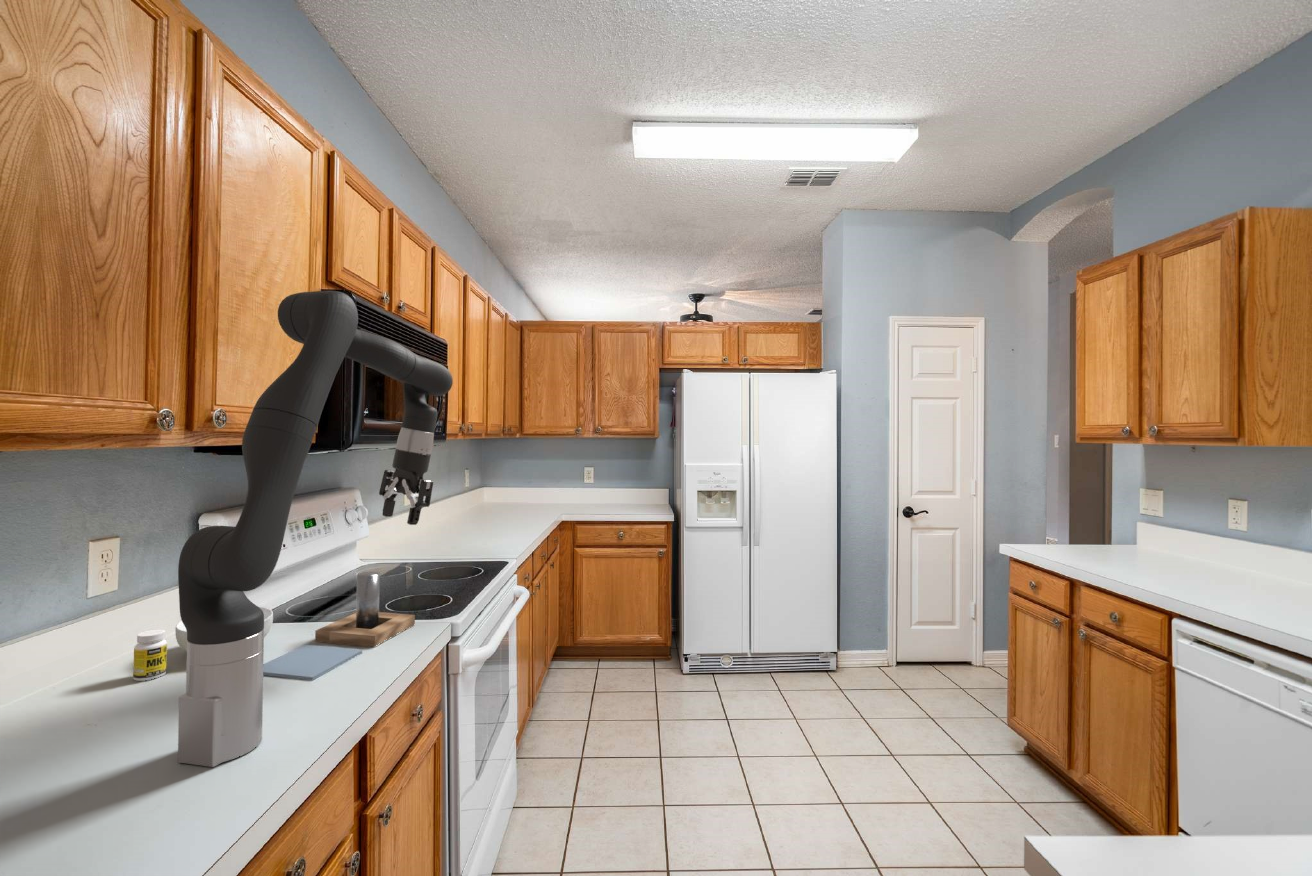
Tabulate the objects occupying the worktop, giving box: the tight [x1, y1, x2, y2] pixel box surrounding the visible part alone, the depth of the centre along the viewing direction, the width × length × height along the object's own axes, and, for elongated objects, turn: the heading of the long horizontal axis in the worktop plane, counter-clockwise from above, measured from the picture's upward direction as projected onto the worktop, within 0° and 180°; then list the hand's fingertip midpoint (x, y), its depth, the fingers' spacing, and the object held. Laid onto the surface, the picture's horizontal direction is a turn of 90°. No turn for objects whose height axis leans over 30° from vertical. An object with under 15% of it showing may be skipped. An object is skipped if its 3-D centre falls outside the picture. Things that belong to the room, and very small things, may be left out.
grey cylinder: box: [355, 571, 381, 629], centre depth 134 cm, size 7×7×14 cm
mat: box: [263, 644, 363, 681], centre depth 117 cm, size 14×14×1 cm
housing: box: [314, 611, 416, 647], centre depth 134 cm, size 15×15×2 cm
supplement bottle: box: [132, 629, 168, 682], centre depth 109 cm, size 5×5×8 cm
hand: (399, 520), depth 128 cm, fingers open, 8 cm apart
